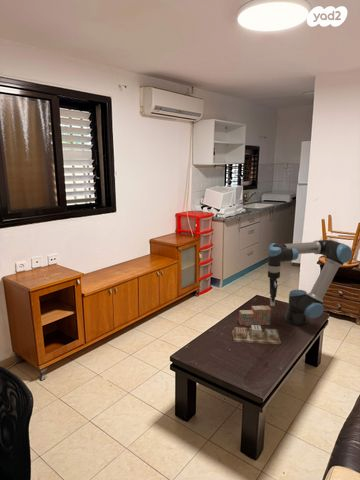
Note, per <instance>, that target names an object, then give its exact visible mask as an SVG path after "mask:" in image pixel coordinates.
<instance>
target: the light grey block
mask: <svg viewBox="0 0 360 480" xmlns="http://www.w3.org/2000/svg"><path fill="white" fill-rule="evenodd" d="M265 329H266V332H267V335H277V332H276V330H267V329H268V328H265Z"/></svg>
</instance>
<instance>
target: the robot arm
mask: <svg viewBox="0 0 360 480" xmlns="http://www.w3.org/2000/svg"><path fill="white" fill-rule="evenodd" d="M304 254H314V255H322V256H325V263H324V265H323V267H322V269H321V271H320V273H319V275H318V277H317V279H316V281H315V282H314V284H313V286H312V289H311V290H310V292H309V293H308V292H307V291H306V290H303V289H293V290H290V291H289V294H288V305H287V306H288V307H287V311H286V312H285V314H284V315H285V316H284V321H285V322H286V323H288V324H290V325H293V326H304V325H306V324H307V322H308V321H307V320H308V319H307V317H308V318H310V319H317V318H319V317H321V316H322V315H323V313H324V309H325V308H324V306H323V304H324V297H325V295H326V294H327V293H326V292H327V291H328V289H329V287H330V285H331V283H332V281H333V280H334V277H335V276H336V274H337V272H338V270H339V268H340V267H343V266H344V264H346V263H348V262H350V261H351V259H352V256H353V251H352V248H351V246H349V245H347V244H345V243H342V242H339V241H335V240H332V239H319V240H314V241H310V242H296V243H275V242H273V243H270V244H269V246H268V258H267V260H268V261H267V267H266V268H267V277H268V279H269V294H270V295H269V307H275V305H276V304H275V303H276V298H277V291H278V286H279V285H278V280H277V279H279V278H281V263H282V262H289V261H292V262H293V261H296V260H298V258H299V255H304Z"/></svg>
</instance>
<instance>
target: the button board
mask: <svg viewBox="0 0 360 480" xmlns="http://www.w3.org/2000/svg"><path fill="white" fill-rule="evenodd" d="M233 328H234V329H233V330H232V331H231V332H232V333H231V334H232V341H233V343H249V344H250V343H252V344H269V345H282V341H281V339H280V334H279V331H278V329H276V328H264V330H263V331H262V333H261V334H252V332H251V327H249V328H248V329H247V327H244V328H245V331H246V333H236V328H241V326H240V327H237V326H236V327H233ZM266 329H267V330H276V332H277V335H267V332H266Z"/></svg>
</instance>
